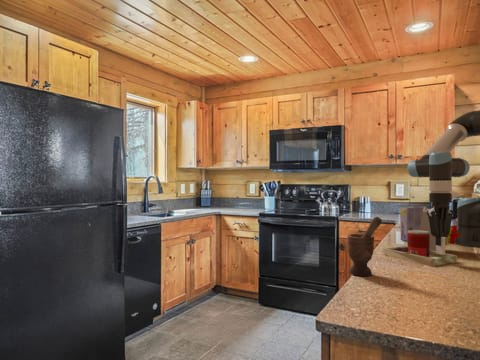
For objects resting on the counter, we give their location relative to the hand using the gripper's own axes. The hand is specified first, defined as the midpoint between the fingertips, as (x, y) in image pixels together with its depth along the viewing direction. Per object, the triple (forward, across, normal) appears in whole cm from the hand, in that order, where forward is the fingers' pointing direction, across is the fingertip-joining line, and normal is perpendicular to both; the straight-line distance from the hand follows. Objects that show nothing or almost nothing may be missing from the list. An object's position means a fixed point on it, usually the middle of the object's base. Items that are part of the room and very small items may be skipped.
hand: (440, 253), depth 134 cm
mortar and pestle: (+4, +38, 0) cm, 38 cm away
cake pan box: (+4, -38, -41) cm, 56 cm away
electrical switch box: (+4, -19, -14) cm, 24 cm away
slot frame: (+4, 0, -10) cm, 10 cm away
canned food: (+4, 0, -10) cm, 10 cm away
